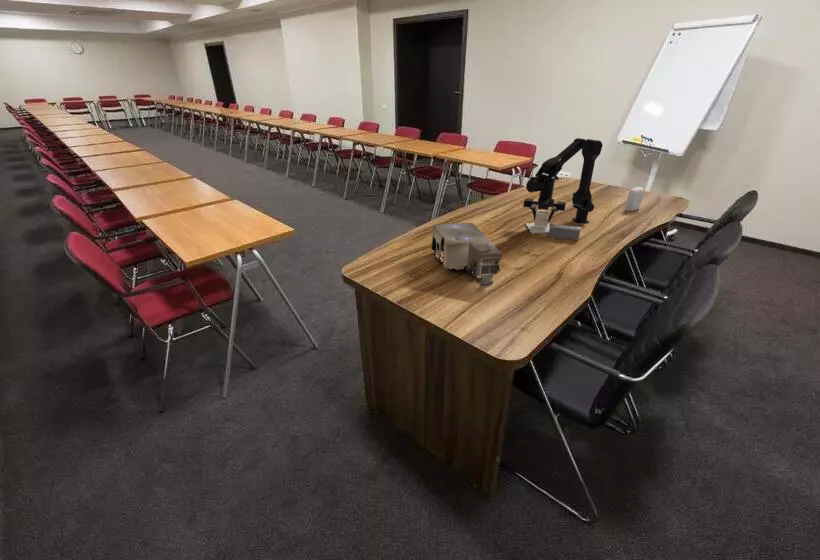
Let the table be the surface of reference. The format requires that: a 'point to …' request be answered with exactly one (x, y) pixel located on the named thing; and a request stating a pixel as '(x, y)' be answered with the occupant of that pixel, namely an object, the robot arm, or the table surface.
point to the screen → (564, 231)
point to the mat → (537, 228)
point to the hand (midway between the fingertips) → (541, 221)
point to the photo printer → (634, 199)
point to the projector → (466, 250)
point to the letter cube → (542, 218)
